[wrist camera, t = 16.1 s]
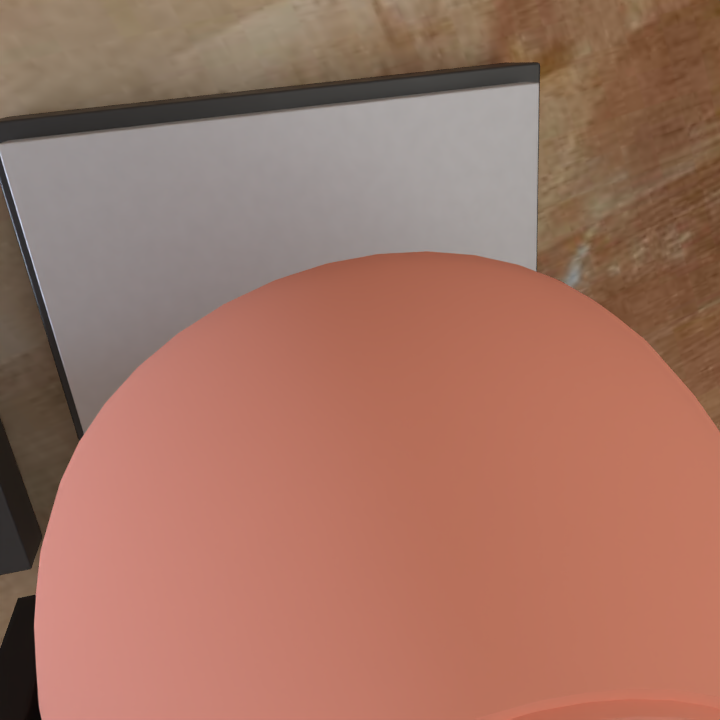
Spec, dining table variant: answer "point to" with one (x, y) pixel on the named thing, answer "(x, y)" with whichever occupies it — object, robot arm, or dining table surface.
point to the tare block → (15, 516)
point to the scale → (256, 199)
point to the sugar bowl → (389, 513)
